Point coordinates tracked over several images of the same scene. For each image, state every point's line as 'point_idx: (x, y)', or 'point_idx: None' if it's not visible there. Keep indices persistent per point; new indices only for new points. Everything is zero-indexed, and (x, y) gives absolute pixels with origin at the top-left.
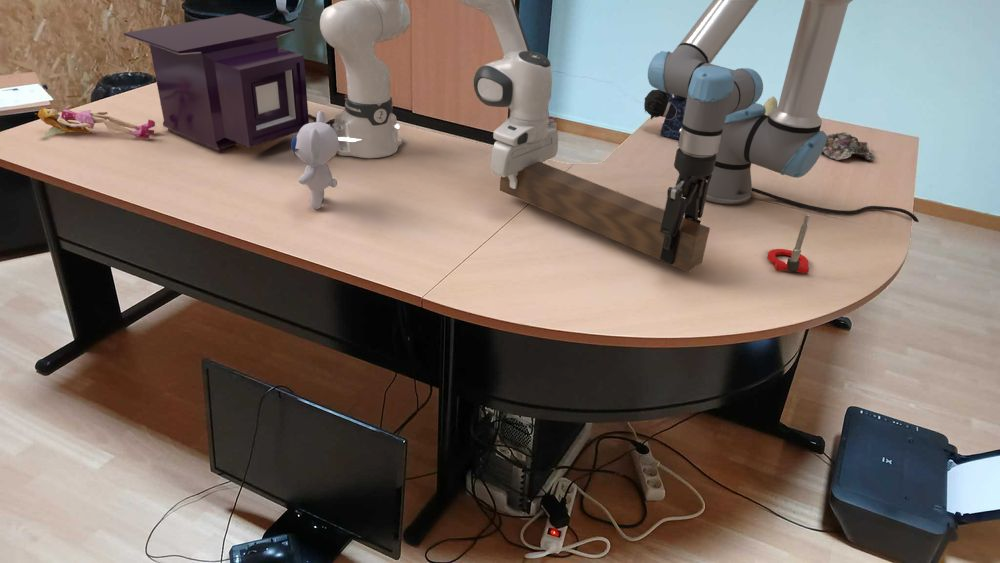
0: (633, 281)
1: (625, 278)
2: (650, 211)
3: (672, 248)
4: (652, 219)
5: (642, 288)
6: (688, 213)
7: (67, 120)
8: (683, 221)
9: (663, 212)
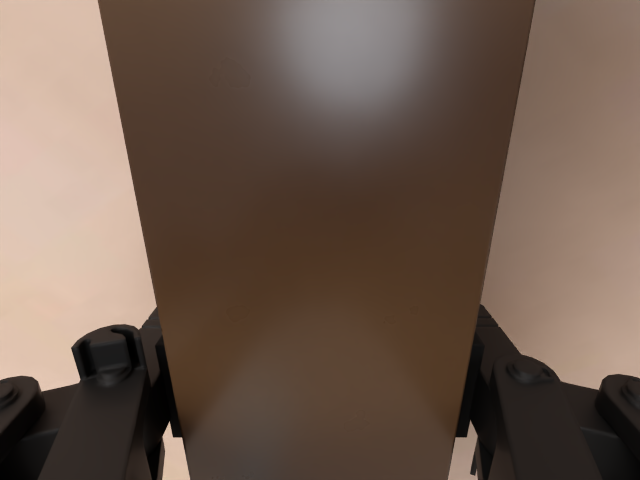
0: (89, 179)
1: (74, 137)
2: (317, 19)
3: None
4: (134, 186)
5: (82, 236)
6: (499, 476)
7: None
8: (375, 429)
9: (426, 183)
